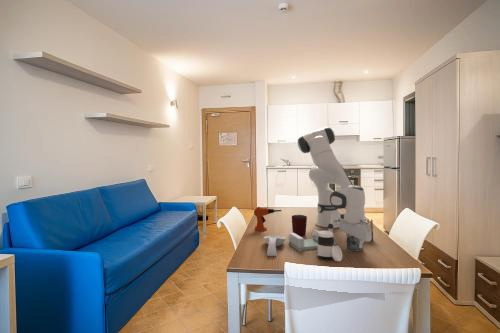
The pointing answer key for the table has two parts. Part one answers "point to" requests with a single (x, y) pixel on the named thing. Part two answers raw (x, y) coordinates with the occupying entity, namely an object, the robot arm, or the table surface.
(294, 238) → the vise
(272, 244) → the spoon rest
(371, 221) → the ammunition clip
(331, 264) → the table surface
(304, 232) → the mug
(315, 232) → the sliding jaw
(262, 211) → the toy drill
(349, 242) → the steel block
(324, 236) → the spread jar
